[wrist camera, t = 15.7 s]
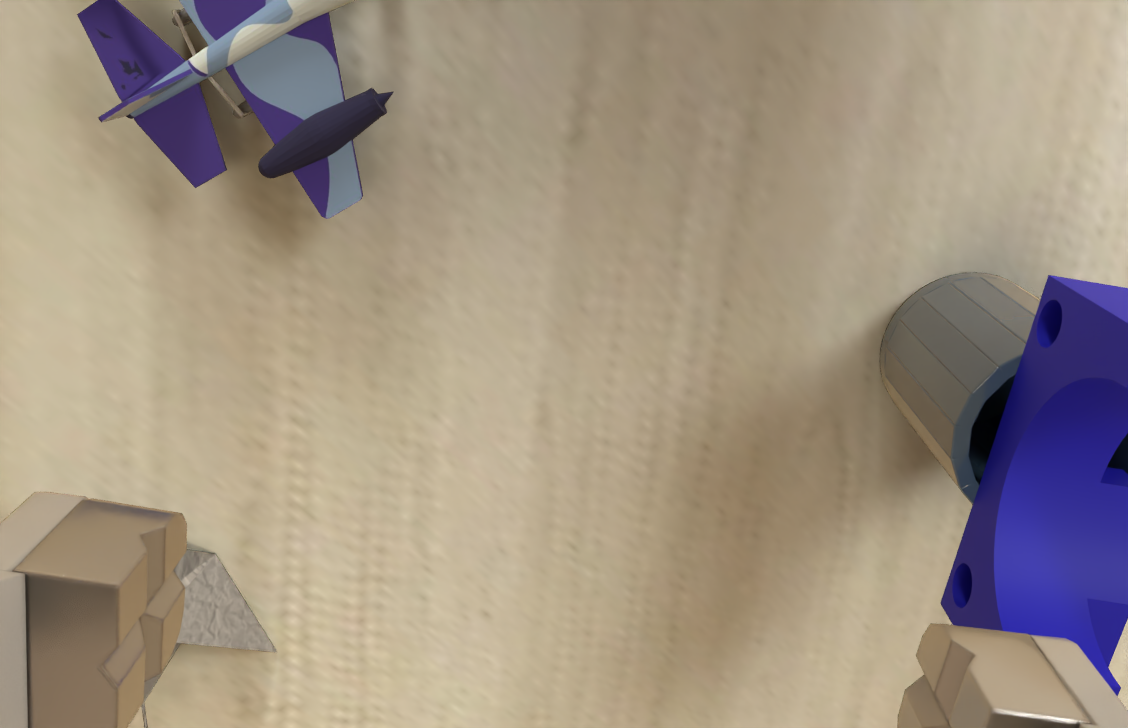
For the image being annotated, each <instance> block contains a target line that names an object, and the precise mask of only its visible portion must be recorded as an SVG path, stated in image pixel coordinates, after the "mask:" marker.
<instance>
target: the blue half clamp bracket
mask: <svg viewBox="0 0 1128 728" xmlns="http://www.w3.org/2000/svg"><path fill="white" fill-rule="evenodd" d="M1127 433H1128V288H1123V287H1117V286H1111V285H1105V284H1099V283H1093V282H1087V281H1081V280H1075V279H1069V278H1063V277H1057V276H1051V275H1049V276H1048V279H1047V282H1046V285H1045V288H1044V291H1043V294H1042V297H1041V300H1040V303H1039V306H1038V309H1037V312H1036V315H1035V318H1034V321H1033V324H1032V327H1031V330H1030V333H1029V336H1028V339H1027V342H1026V345H1025V348H1024V352H1023V355H1022V358H1021V361H1020V364H1019V367H1018V370H1017V373H1016V376H1015V379H1014V382H1013V385H1012V388H1011V391H1010V394H1009V397H1008V400H1007V403H1006V406H1005V409H1004V412H1003V415H1002V418H1001V421H1000V424H999V427H998V430H997V433H996V436H995V439H994V443H993V446H992V449H991V452H990V455H989V458H988V461H987V464H986V467H985V470H984V473H983V476H982V479H981V482H980V485H979V488H978V491H977V494H976V497H975V500H974V503H973V506H972V509H971V512H970V515H969V518H968V521H967V524H966V527H965V530H964V533H963V537H962V540H961V543H960V546H959V549H958V552H957V555H956V558H955V561H954V564H953V567H952V570H951V573H950V576H949V579H948V582H947V585H946V588H945V591H944V594H943V597H942V600H941V605H942V607H943V609H944V610H945V612H946V614H947V615H948V617H949V619H950V621H951V622H952V624H953V625H956V626H964V627H973V628H981V629H990V630H998V631H1006V632H1015V633H1023V634H1029V635H1039V636H1049V637H1059V638H1066V639H1068V640H1070V641H1072V642H1074V643H1076V644H1077V645H1078V646H1079V647H1080V649H1081V650H1082V651H1083V653H1084V654H1085V655H1086V656H1087V658H1088V659H1089V660H1090V662H1091V663H1092V664H1093V666H1094V667H1095V668H1096V669H1097V671H1098V672H1099V673H1100V675H1101V676H1102V677H1103V679H1104V680H1105V681H1106V682H1107V684H1108V685H1109V686H1110V688H1111V689H1112V690H1113V692H1114V693H1115V694H1116V696H1118V694H1119V691H1120V689H1121V687H1120V686H1119V684H1118V683H1117V681H1116V680H1115V679H1114V677H1113V675H1112V674H1111V672H1110V670H1109V668H1108V666H1109V664H1110V661H1111V659H1112V656H1113V654H1114V651H1115V649H1116V646H1117V644H1118V641H1119V639H1120V636H1121V634H1122V631H1123V629H1124V626H1125V624H1126V621H1127V619H1128V474H1127V473H1126V472H1125V471H1124V470H1122V469H1116V468H1109V467H1107V466H1108V463H1109V462H1110V460H1111V458H1112V456H1113V454H1114V452H1115V451H1116V449H1117V448H1118V446H1119V444H1120V443H1121V441H1122V440H1123V439H1124V437H1125V436H1126V435H1127Z"/></svg>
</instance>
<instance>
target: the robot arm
mask: <svg viewBox="0 0 1128 728" xmlns="http://www.w3.org/2000/svg"><path fill="white" fill-rule="evenodd" d="M186 551H187V523H186V521H185V518H184V516H183V514H182V513H178V512H172V511H166V510H159V509H153V508H147V507H141V506H135V505H129V504H123V503H117V502H111V501H105V500H98V499H88V498H87V497H85V496H77V495H68V494H60V493H52V492H35V493H33V494H32V495H31V496H30V497H29V498H28V499H26V500H25V501H24V502H23V503H22V504H21V505H20V506H19V507H18V508H16V509H15V510H14V511H13V512H12V513H11V514H10V515H9V516H8V517H6V518H5V519H4V520H3V521H2V522H1V523H0V728H127V727H128V726H129V724H130V723H131V721H132V720H133V718H134V716H135V715H136V713H137V712H138V710H139V708H140V707H141V705H142V704H143V702H144V682H146V681H148V680H150V679H152V678H154V677H156V676H158V675H160V674H161V673H162V671H163V670H164V668H165V666H166V664H167V663H168V661H169V659H170V658H171V656H172V653H173V650H174V647H175V644H176V642H177V639H178V636H179V633H180V630H181V624H182V618H183V612H184V602H185V586H184V585H183V583H182V582H181V581H180V579H179V578H178V576H177V575H176V573H175V572H174V569H175V567H176V566H177V564H178V563H179V561H180V560H181V558H182V557H183V556H184V554H185V553H186ZM916 657H917V659H918V661H919V664H920V666H921V668H922V670H923V673H924V675H923V676H922V677H921V678H919V679H918V680H917V681H916V682H914V683H913V684H912V685H911V686H909V687H908V688H907V689H906V690H905V692H904V696H903V699H902V703H901V706H900V710H899V714H898V725H897V728H1128V710H1127V709H1126V707H1125V706H1124V705H1123V703H1122V702H1121V701H1120V699H1119V698H1118V697H1117V696H1116V694H1115V693H1114V692H1113V690H1112V689H1111V688H1110V686H1109V685H1108V684H1107V682H1106V681H1105V680H1104V679H1103V677H1102V676H1101V675H1100V673H1099V672H1098V671H1097V669H1096V668H1095V667H1094V666H1093V664H1092V663H1091V662H1090V660H1089V659H1088V658H1087V656H1086V655H1085V654H1084V653H1083V651H1082V650H1081V649H1080V647H1079V646H1078V645H1077V644H1076V643H1074V642H1072V641H1070V640H1068V639H1066V638H1059V637H1049V636H1039V635H1029V634H1023V633H1015V632H1006V631H998V630H990V629H981V628H973V627H964V626H956V625H948V624H930V625H929V627H928V628H927V630H926V631H925V633H924V634H923V636H922V639H921V642H920V645H919V648H918V651H917V654H916Z"/></svg>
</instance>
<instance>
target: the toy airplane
mask: <svg viewBox="0 0 1128 728" xmlns="http://www.w3.org/2000/svg"><path fill="white" fill-rule="evenodd" d="M179 1H180V2H181V4H182V5H183V7H184V9H182V10H173V11H172V13H173V15H174V16H173V19H172V20H173V23H174V25H176V26H179V28H180V30H181V32H182V35H183V37H184V39H185V41H186V43H187V45H188V47H189V50H190V52H191V54H192V56H193V57H191V58H190V59H188V60H187V61H185V60H184V59H183V58H182V57H181V56H180V55H179V54H177V53H176V52H175V51H174V50H173V49H172V48H171V47H169V46H168V45H167V44H166V43H165V42H164V41H163V40H162V39H160V38H159V37H158V36H157V35H156V34H155V33H154V32H152V31H151V30H150V29H149V28H148V27H147V26H146V25H144V24H143V23H142V22H141V21H140V20H139V19H138V18H136V17H135V16H134V15H133V14H132V13H131V12H130V11H129V10H127V9H126V8H125V7H124V6H123V5H122V4H121V3H119V2H118V1H117V0H97V1H96V2H95V3H93V4H92V5H90V6H89V7H87V8H86V9H85V10H83V11H82V12H80V13H79V14H77V15H78V17H79V19H80V21H81V23H82V25H83V27H84V29H85V31H86V33H87V35H88V37H89V39H90V41H91V43H92V45H93V47H94V49H95V51H96V53H97V55H98V57H99V59H100V61H101V63H102V65H103V67H104V69H105V71H106V73H107V75H108V77H109V79H110V81H111V83H112V85H113V87H114V89H115V91H116V93H117V95H118V97H119V98H120V99H121V101H122V103H120V104H119V105H117V106H116V107H114V108H112V109H111V110H109V111H108V112H106V113H105V114H103V115H101V116H100V117H99V120H100V121H101V122H105V121H109V120H112V119H116V118H120V117H124V116H126V117H128V118H131V119H132V118H134V120H135V121H136V123H137V124H138V125H139V126H140V127H141V128H142V130H143V131H144V132H145V133H146V134H147V135H148V136H149V137H150V138H151V140H152V141H153V142H154V143H155V144H156V145H157V146H158V147H159V148H160V149H161V151H162V152H163V153H164V154H165V155H166V156H167V157H168V158H169V159H170V161H171V162H172V163H173V164H174V165H175V166H176V167H177V168H178V169H179V170H180V172H181V173H182V174H183V175H184V176H185V177H186V178H187V179H188V180H189V181H190V183H191V184H192V185H193V186H194V187H195V188H196V187H198V186H200V185H202V184H203V183H205V182H207V181H209V180H210V179H212V178H214V177H215V176H217V175H219V174H221V173H222V172H224V171H226V170H227V168H226V165H225V162H224V159H223V156H222V153H221V149H220V146H219V143H218V140H217V137H216V134H215V131H214V128H213V125H212V122H211V118H210V115H209V112H208V109H207V106H206V103H205V100H204V97H203V94H202V90H201V87H200V84H199V83H200V82H201V81H203V80H205V79H208V80H209V81H210V82H211V83H212V85H213V86H214V87H215V88H216V89H217V90H218V92H219V93H220V94H221V95H222V96H223V97H224V98H225V100H226V101H227V102H228V103H229V104H230V105H231V107H232V108H233V109H234V110H233V115H234V116H235V117H236V118H242V117H245V116H246V115H248V114H250V113H252V112H253V111H254V113H255V114H256V116H257V118H258V119H259V121H260V122H261V124H262V125H263V127H264V128H265V130H266V131H267V133H268V135H269V136H270V138H271V139H272V141H273V142H274V144H275V146H274V147H273V148H272V149H271V150H270V151H268V152H267V153H266V154H265V155H264V156H263V157H262V158H261V159H260V161H259V165H258V167H259V171H260V173H261V174H262V175H263V176H265V177H267V178H275V177H278V176H281V175H284V174H287V173H290V172H292V171H293V173H294V175H295V176H296V178H297V179H298V181H299V182H300V184H301V185H302V187H303V188H304V190H305V192H306V193H307V195H308V196H309V198H310V199H311V201H312V202H313V204H314V205H315V207H316V208H317V210H318V212H319V213H320V215H321V216H322V217H324V218H326V219H328V218H331V217H332V216H334V215H336V214H338V213H339V212H341V211H343V210H344V209H346V208H348V207H349V206H351V205H353V204H354V203H356V202H358V201H360V200H361V199H362V197H363V192H362V187H361V182H360V176H359V171H358V166H357V160H356V155H355V150H354V145H353V139H354V138H355V137H357V136H358V135H359V134H360V133H361V132H363V131H364V130H365V129H366V128H368V127H369V126H370V125H371V124H373V123H374V122H375V121H376V120H377V119H379V118H380V117H381V116H383V115H385V114H386V113H387V110H386V107H385V103H386V102H387V100H388V99H389V98H390V96H391V95H392V94H393V92H388V93H381V94H377V92H376V91H375V90H374V89H372V88H370V89H369V90H367V91H366V92H363V93H361V94H359V95H357V96H354V97H352V98H350V99H347V100H345V97H344V92H343V86H342V81H341V76H340V71H339V65H338V60H337V55H336V49H335V44H334V39H333V34H332V28H331V23H330V18H329V12H330V11H332V10H334V9H337V8H339V7H341V6H343V5H346V4H348V3H350V2H352V1H355V0H179ZM192 21H193V22H194V24H195V25H196V27H197V29H198V30H199V32H200V33H201V35H202V36H203V38H204V39H205V41H206V42H207V44H208V46H207V47H205V48H204V49H203V50H201V51H200V52H198V53H196V51H195V49H194V47H193V45H192V43H191V41H190V38H189V36H188V34H187V32H186V30H185V28H184V26H185V25H187V24H189V23H191V22H192ZM224 68H226V70H227V71H228V73H229V74H230V76H231V77H232V79H233V81H234V82H235V84H236V85H237V87H238V88H239V90H240V91H241V93H242V94H243V96H244V98H245V99H246V101H245V102H243V103H241V104H240V105H238V106H237V105H236V104H235V103H234V102H233V101H232V99H231V98H230V97H229V96H228V95H227V94H226V92H225V91H224V90H223V89H222V88H221V87H220V85H219V84H218V83H217V82H216V81H215V80H214V78H213V77H212V75H214V74H215V73H217V72H219V71H221V70H222V69H224Z"/></svg>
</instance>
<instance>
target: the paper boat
mask: <svg viewBox="0 0 1128 728" xmlns="http://www.w3.org/2000/svg"><path fill="white" fill-rule="evenodd" d="M174 572H175V573H176V575H177V576H178V578H179V579H180V581H181V582H182V583H183V585H184V586H185V602H184V612H183V618H182V624H181V630H180V633H179V636H178V639H177V642H176V644H175V647H174V650H173V653H172V656H173V655H174V653H175V651H176V650H177V648H178V647H179V645H180V643H184V644H195V645H205V646H216V647H226V648H237V649H247V650H258V651H268V652H277V651H276V650H275V648H274V646H273V645H272V643H271V642H270V640H269V638H268V637H267V635H266V634H265V632H264V630H263V629H262V627H261V626H260V624H259V622H258V621H257V619H256V618H255V616H254V615H253V613H252V611H251V610H250V608H249V607H248V605H247V603H246V602H245V600H244V599H243V597H242V595H241V594H240V592H239V591H238V589H237V587H236V586H235V584H234V583H233V581H232V580H231V578H230V576H229V575H228V573H227V572H226V570H225V568H224V567H223V565H222V564H221V562H220V560H219V559H218V557H217V556H216V554H214V553H207V552H200V551H194V550H187V551H186V553H185V554H184V556H183V557H182V558H181V560H180V561H179V563H178V564H177V566H176V567H175V569H174ZM172 656H171V658H172ZM171 658H170V659H169V661H170V660H171ZM169 661H168V663H169ZM168 663H167V664H168ZM167 664H166V666H167ZM166 666H165V668H166ZM165 668H164V669H165ZM163 671H164V670H163ZM163 671H162V673H163ZM162 673H161V674H162ZM161 674H160V675H158V676H156V677H154V678H152V679H150V680H148V681H146V682H144V702H145V700H146V699H147V697H148V695H149V694H150V692H151V691H152V689H153V687H154V686H155V684H156V682H157V681H158V679H159V678H160V676H161ZM144 702H143V704H142V713H143V720H144V727H145V728H148V726H147V719H146V712H145V704H144Z"/></svg>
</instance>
